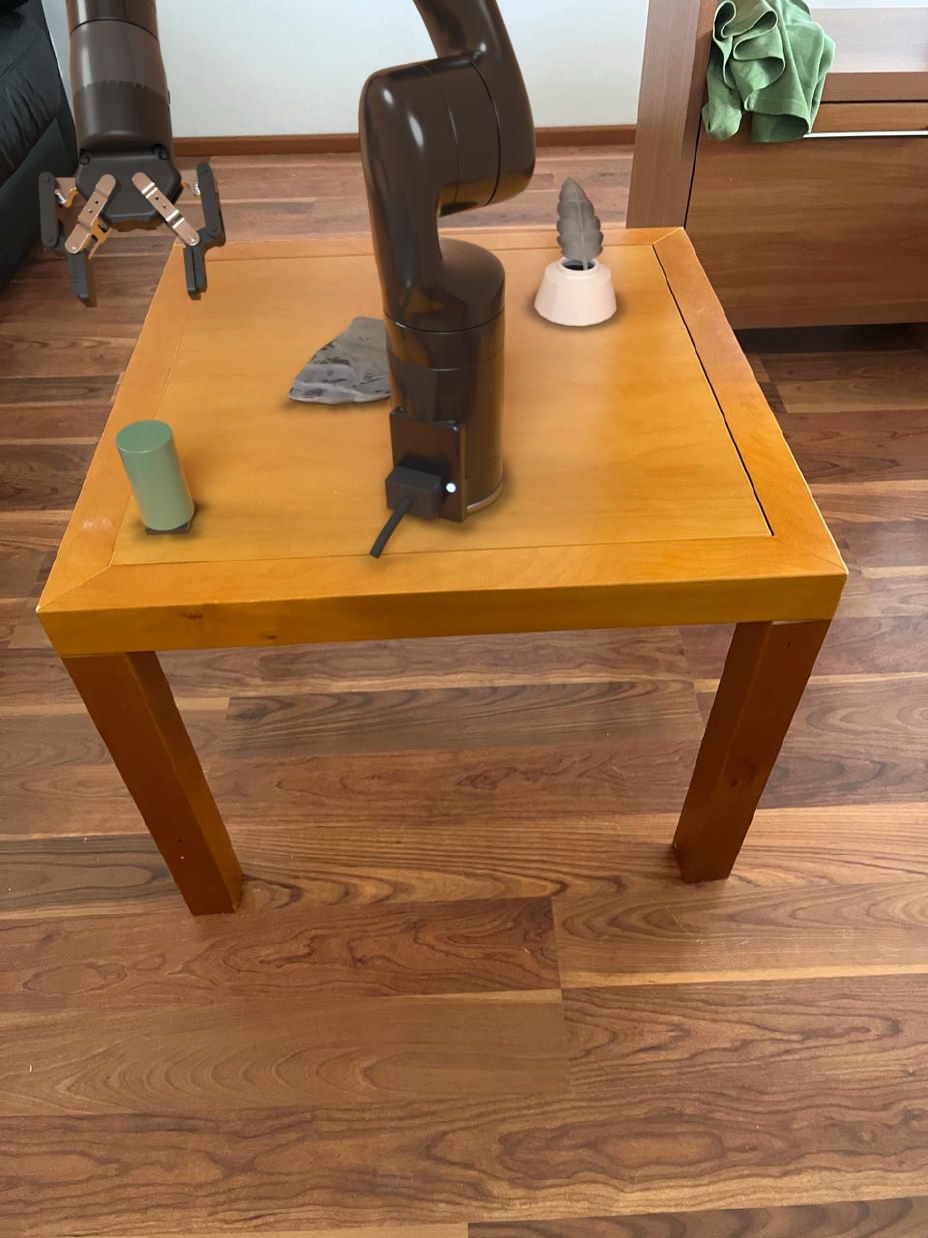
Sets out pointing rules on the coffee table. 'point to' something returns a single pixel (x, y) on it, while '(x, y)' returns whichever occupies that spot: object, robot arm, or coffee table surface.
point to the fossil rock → (347, 367)
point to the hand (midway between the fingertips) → (142, 301)
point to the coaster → (179, 530)
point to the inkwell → (576, 266)
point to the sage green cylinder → (155, 474)
